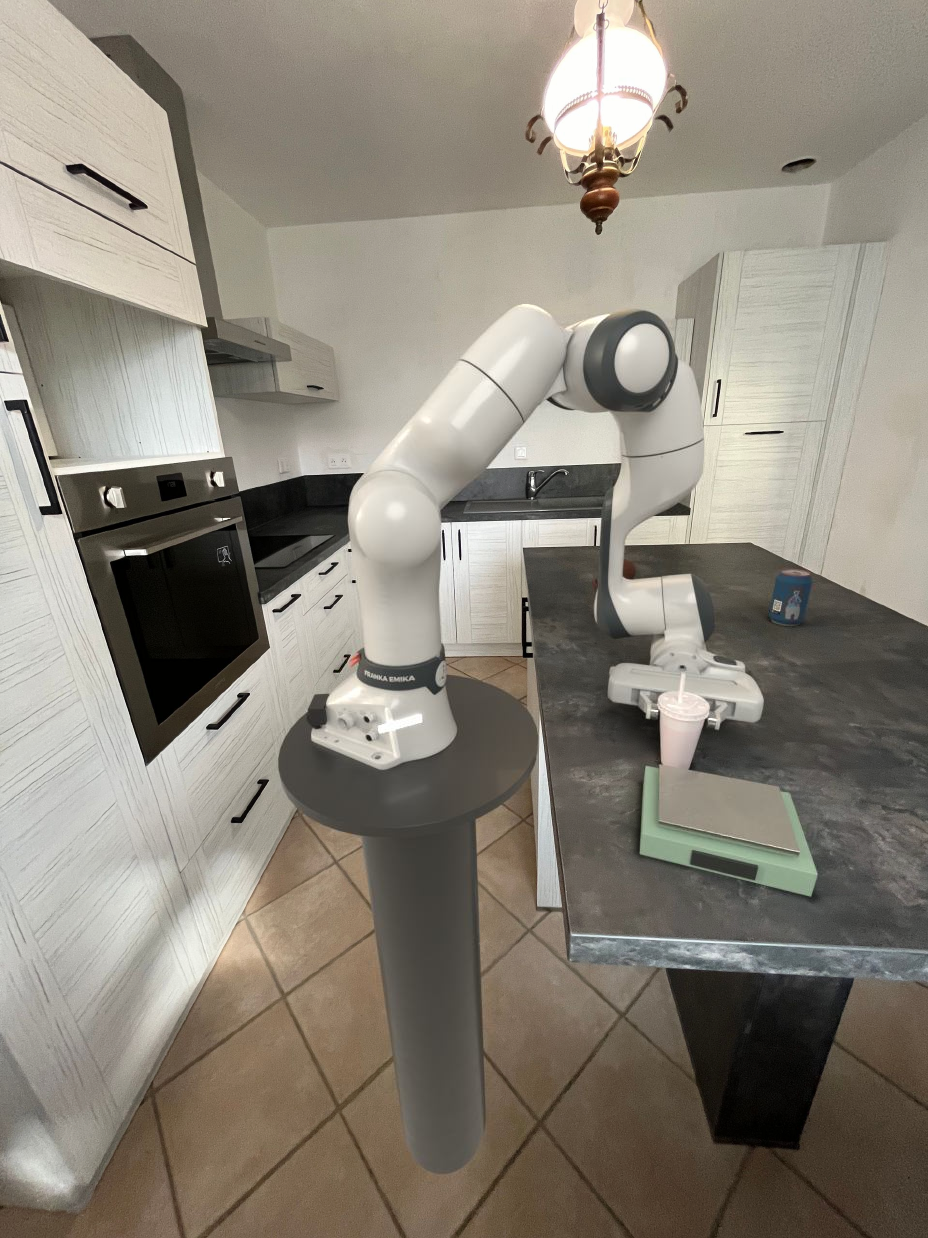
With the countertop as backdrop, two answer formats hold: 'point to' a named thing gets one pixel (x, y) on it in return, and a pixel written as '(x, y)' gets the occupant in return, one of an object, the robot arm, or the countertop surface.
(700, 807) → the scale pan
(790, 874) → the kitchen scale
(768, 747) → the countertop surface
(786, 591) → the soda can
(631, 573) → the ice cream bowl
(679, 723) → the smoothie
